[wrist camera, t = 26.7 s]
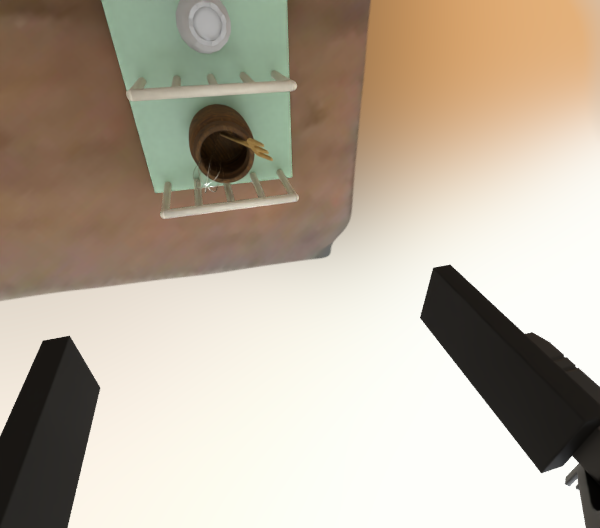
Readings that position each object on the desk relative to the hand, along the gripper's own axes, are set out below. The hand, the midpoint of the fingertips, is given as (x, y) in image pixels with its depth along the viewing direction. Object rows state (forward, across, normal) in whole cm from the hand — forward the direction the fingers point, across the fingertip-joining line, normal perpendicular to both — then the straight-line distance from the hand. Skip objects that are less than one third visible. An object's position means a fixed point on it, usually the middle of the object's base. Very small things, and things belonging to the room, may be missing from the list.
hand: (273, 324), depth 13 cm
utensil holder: (+28, 0, 0) cm, 28 cm away
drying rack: (+29, 0, +4) cm, 29 cm away
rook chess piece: (+28, 0, +9) cm, 29 cm away
